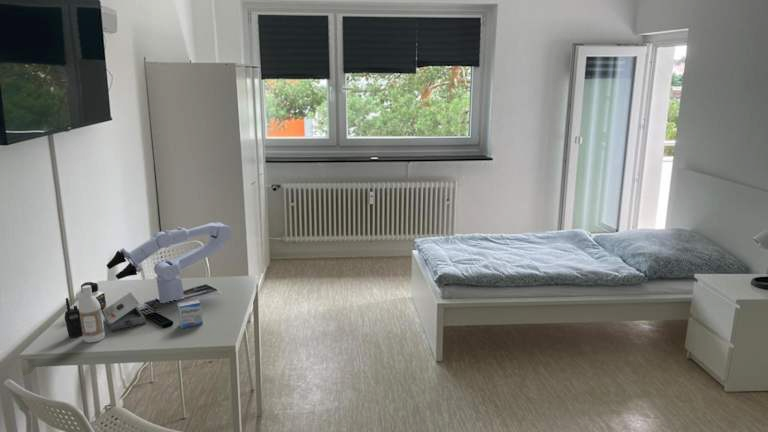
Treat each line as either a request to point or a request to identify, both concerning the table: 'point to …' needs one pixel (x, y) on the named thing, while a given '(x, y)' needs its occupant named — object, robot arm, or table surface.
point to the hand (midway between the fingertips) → (112, 272)
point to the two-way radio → (73, 321)
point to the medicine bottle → (95, 294)
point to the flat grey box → (128, 320)
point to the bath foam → (91, 316)
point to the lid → (120, 308)
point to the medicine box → (190, 313)
